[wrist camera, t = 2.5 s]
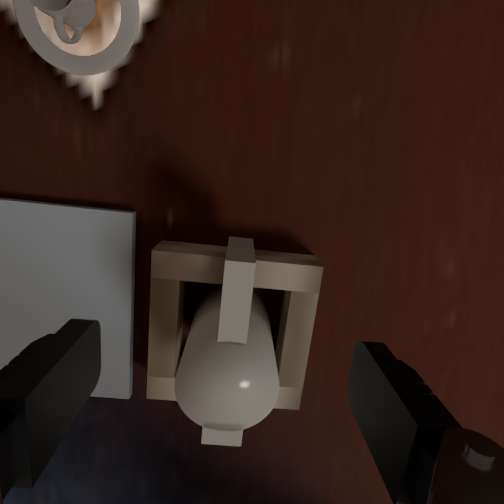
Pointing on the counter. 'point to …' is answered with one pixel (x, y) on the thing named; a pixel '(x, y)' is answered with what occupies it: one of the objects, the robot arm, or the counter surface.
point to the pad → (69, 281)
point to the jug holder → (212, 271)
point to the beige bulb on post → (229, 355)
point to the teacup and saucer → (76, 33)
